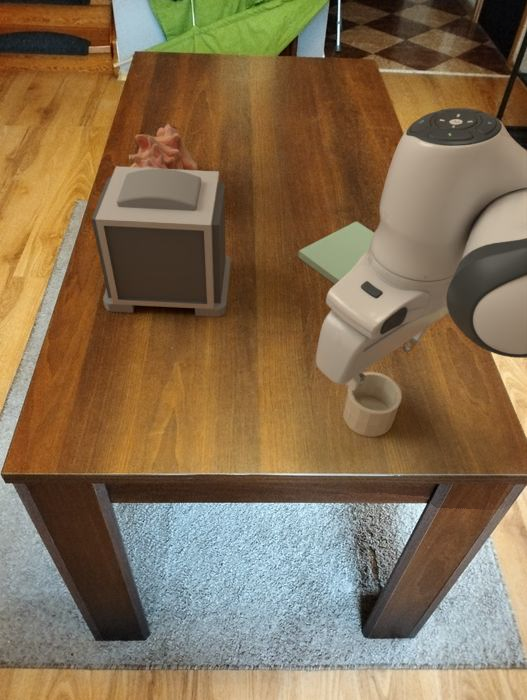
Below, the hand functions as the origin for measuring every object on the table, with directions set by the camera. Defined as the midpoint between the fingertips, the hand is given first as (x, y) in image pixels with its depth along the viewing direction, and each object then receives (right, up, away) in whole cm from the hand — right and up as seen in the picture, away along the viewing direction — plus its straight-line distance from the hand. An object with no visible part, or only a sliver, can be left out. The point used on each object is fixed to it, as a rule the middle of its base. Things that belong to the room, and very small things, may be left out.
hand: (380, 365), depth 67 cm
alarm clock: (-29, +12, +23) cm, 39 cm away
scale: (+2, +16, +28) cm, 33 cm away
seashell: (-33, +31, +40) cm, 60 cm away
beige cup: (0, -7, +7) cm, 10 cm away
